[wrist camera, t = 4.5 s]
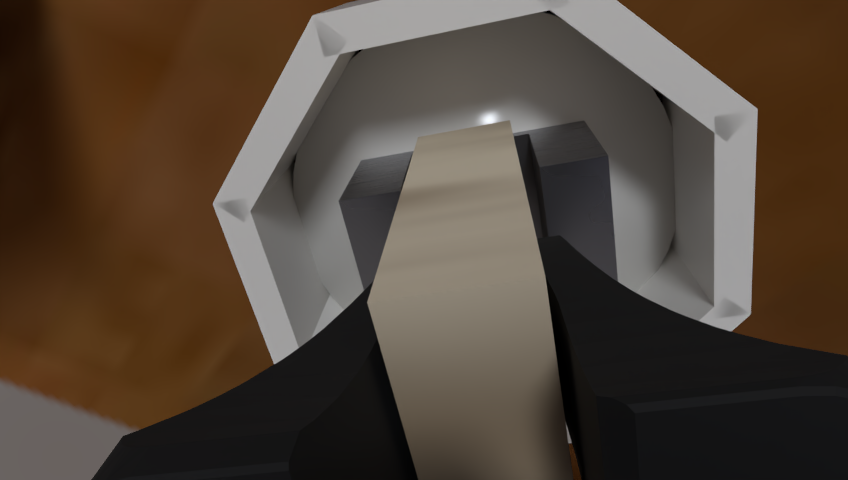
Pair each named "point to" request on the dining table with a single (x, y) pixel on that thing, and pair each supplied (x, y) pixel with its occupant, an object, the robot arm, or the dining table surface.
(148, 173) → the dining table surface
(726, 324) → the bowl
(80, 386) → the dining table surface
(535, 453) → the wood grain plank
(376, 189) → the clip
